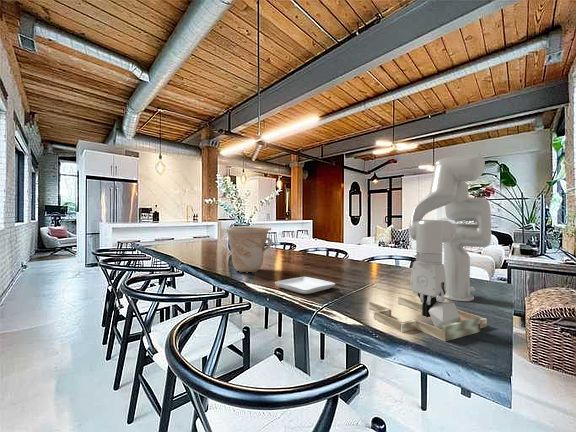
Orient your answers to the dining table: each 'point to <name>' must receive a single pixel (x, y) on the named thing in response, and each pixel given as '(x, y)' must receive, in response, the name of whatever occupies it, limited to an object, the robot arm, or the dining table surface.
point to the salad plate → (305, 285)
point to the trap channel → (448, 332)
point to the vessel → (248, 246)
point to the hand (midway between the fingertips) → (427, 315)
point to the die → (444, 314)
